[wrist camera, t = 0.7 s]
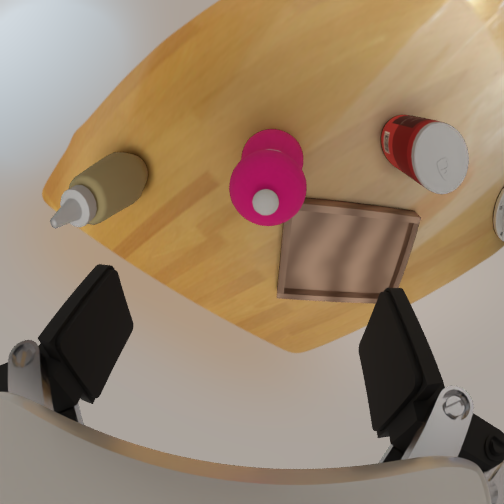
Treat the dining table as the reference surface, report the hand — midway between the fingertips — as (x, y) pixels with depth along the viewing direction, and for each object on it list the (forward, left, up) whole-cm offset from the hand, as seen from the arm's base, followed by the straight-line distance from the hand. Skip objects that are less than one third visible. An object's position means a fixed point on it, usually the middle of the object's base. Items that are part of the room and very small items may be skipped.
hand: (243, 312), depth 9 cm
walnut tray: (-12, +14, -30) cm, 35 cm away
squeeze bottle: (+21, +3, -30) cm, 37 cm away
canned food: (-18, -4, -30) cm, 35 cm away
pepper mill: (0, 0, -30) cm, 30 cm away
